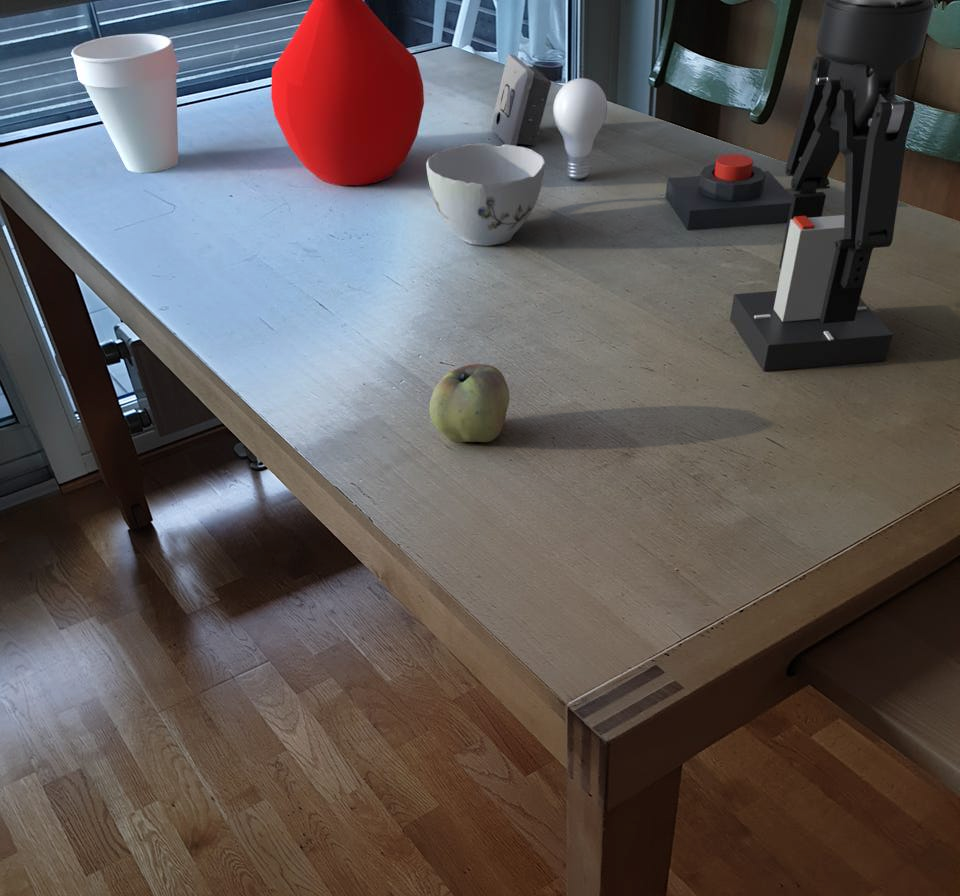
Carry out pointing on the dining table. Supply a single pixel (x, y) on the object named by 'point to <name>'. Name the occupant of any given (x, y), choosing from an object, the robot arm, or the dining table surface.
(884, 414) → the dining table surface
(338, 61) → the vase
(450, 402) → the apple
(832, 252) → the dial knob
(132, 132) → the cup
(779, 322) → the dial panel
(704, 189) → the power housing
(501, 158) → the teacup
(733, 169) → the power button
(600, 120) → the lightbulb
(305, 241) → the dining table surface
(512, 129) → the electrical switch
